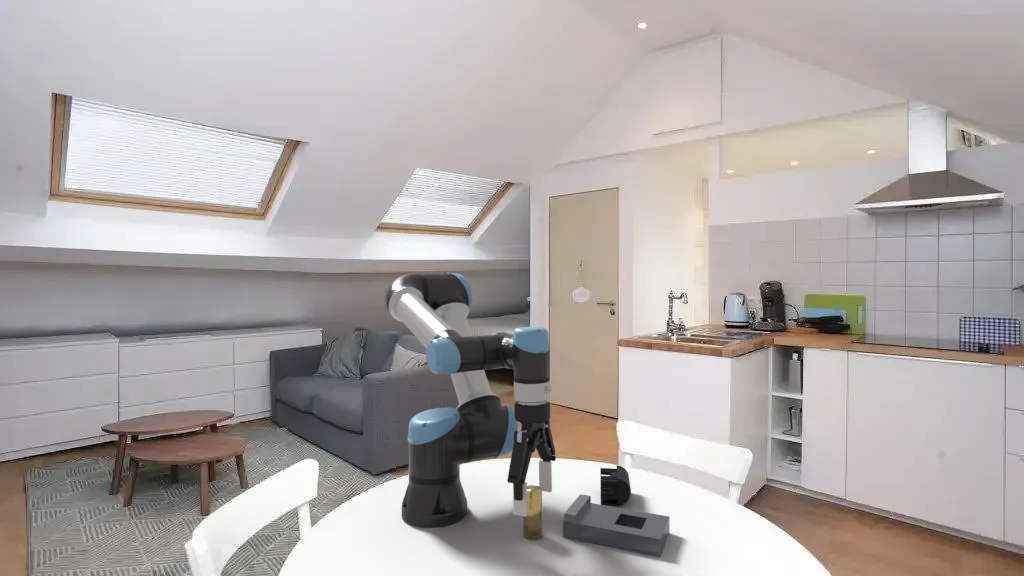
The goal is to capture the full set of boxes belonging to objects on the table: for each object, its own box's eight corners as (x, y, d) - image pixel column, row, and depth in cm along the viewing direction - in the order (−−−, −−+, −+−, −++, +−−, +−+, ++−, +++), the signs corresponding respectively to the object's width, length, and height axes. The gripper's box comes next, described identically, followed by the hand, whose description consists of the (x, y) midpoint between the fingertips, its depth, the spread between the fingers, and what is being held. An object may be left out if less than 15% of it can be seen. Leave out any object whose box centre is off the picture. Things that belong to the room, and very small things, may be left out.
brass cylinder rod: (520, 538, 116) (520, 490, 115) (527, 530, 119) (527, 484, 119) (538, 541, 114) (537, 493, 114) (545, 533, 118) (544, 487, 117)
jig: (563, 537, 116) (562, 513, 116) (579, 516, 126) (579, 493, 126) (660, 557, 107) (660, 531, 107) (669, 532, 117) (669, 509, 117)
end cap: (631, 508, 130) (631, 480, 130) (600, 506, 131) (600, 478, 131) (628, 491, 140) (628, 465, 140) (600, 490, 141) (600, 464, 141)
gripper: (524, 416, 103) (526, 529, 103) (568, 391, 126) (570, 484, 126) (488, 412, 106) (490, 523, 106) (538, 389, 129) (539, 480, 129)
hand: (533, 502), depth 116 cm, fingers open, 13 cm apart
